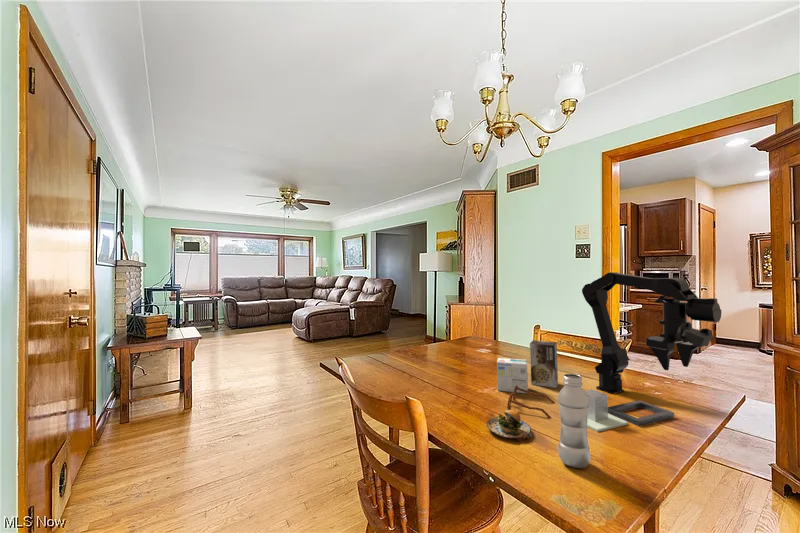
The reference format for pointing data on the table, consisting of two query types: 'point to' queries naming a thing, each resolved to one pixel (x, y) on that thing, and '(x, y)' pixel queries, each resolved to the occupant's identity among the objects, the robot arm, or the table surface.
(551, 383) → the coffee box
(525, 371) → the light bulb box
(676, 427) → the table surface
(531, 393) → the glasses
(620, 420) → the felt pad
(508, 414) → the burger
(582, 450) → the plastic bottle
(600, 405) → the block
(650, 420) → the socket frame
